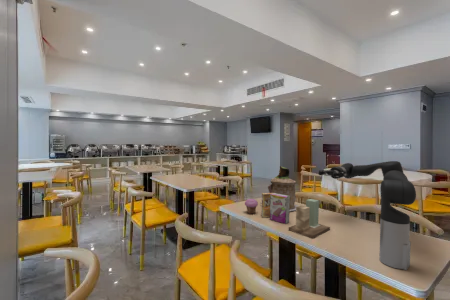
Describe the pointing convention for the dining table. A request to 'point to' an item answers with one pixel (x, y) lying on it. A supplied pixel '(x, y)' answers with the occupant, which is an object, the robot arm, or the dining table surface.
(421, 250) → the dining table surface
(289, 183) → the cookie jar
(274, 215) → the candy bar box
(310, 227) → the base board
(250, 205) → the cupcake
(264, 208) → the candy box
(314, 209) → the green block
